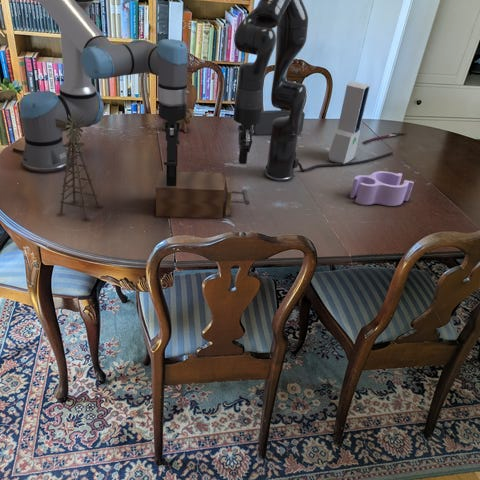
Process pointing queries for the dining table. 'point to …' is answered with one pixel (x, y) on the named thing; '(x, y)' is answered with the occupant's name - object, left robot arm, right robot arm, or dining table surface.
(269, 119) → the handheld gaming console
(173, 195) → the cabinet
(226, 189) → the drawer
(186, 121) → the lion figurine
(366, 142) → the sword
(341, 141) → the electronic device
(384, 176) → the clip
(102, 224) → the dining table surface
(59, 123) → the miniature windmill
